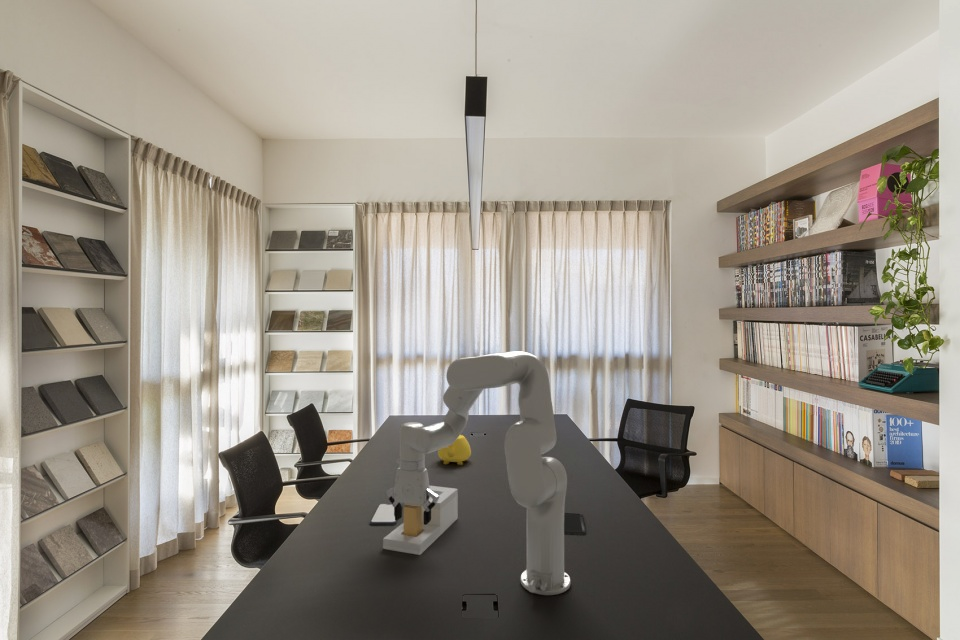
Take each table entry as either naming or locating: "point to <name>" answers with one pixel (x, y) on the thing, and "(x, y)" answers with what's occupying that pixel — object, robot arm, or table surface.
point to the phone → (574, 524)
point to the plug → (412, 520)
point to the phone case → (384, 515)
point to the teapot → (456, 451)
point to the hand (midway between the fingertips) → (412, 520)
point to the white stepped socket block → (440, 521)
